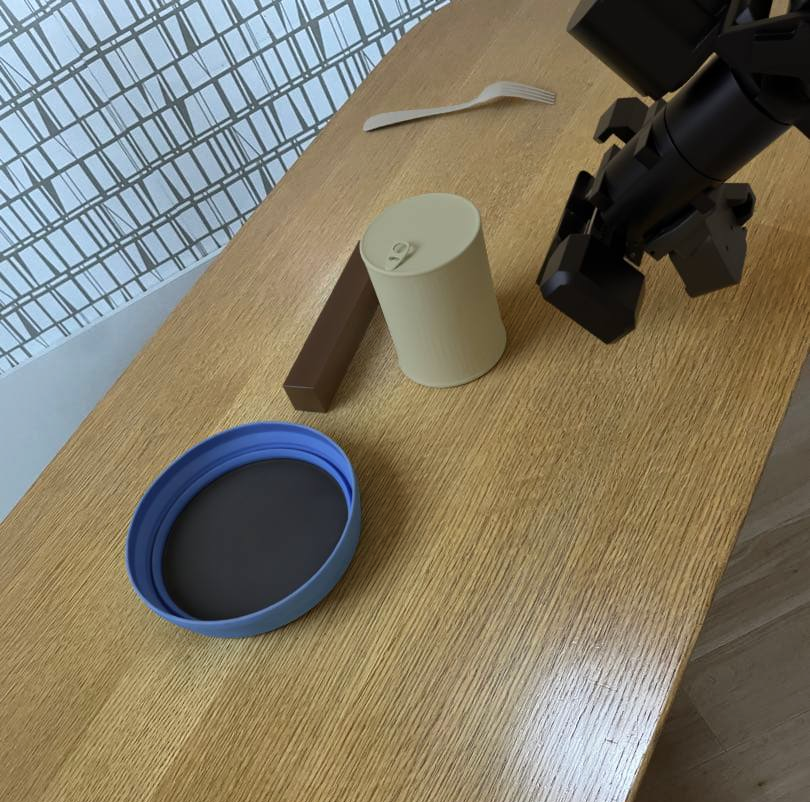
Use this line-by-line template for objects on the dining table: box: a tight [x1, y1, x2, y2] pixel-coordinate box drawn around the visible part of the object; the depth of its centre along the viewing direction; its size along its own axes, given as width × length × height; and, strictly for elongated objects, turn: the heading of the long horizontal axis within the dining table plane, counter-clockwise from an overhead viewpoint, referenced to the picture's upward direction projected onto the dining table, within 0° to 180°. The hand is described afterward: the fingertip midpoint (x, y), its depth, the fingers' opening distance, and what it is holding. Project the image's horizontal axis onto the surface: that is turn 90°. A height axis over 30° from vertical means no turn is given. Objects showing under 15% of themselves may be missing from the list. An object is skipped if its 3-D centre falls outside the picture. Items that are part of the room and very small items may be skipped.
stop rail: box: [282, 239, 380, 414], centre depth 73 cm, size 3×18×3 cm, turn 160°
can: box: [360, 192, 508, 389], centre depth 65 cm, size 9×9×12 cm
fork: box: [362, 80, 556, 132], centre depth 90 cm, size 3×21×3 cm, turn 79°
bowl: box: [124, 420, 362, 639], centre depth 62 cm, size 18×18×4 cm
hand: (541, 283), depth 62 cm, fingers closed
